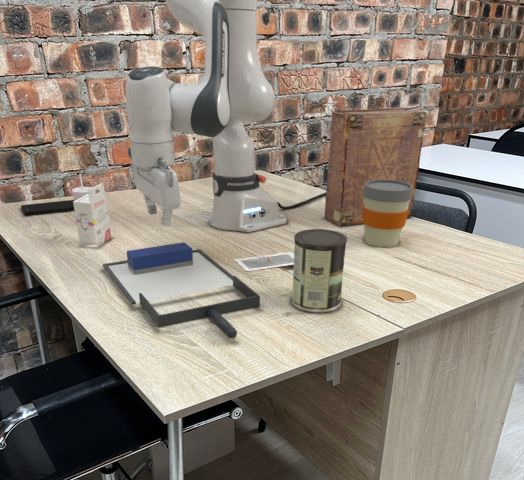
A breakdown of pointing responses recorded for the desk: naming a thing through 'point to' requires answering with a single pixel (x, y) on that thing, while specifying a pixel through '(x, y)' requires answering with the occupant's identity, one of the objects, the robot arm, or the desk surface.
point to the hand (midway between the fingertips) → (159, 219)
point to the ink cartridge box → (92, 217)
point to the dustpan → (207, 310)
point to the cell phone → (48, 207)
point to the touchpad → (266, 261)
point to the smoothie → (80, 190)
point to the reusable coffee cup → (385, 211)
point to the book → (370, 157)
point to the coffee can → (318, 270)
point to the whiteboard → (170, 279)
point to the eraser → (159, 258)
